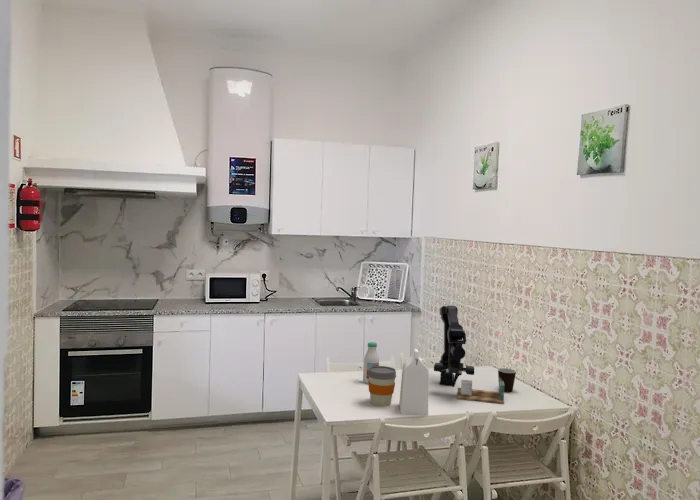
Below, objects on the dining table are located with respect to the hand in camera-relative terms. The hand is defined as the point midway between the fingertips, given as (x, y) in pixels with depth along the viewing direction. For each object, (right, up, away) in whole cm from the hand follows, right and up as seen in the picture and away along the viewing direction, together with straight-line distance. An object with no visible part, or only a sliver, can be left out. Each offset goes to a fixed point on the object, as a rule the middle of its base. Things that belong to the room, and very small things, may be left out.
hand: (453, 386), depth 268 cm
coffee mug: (+28, -5, +12) cm, 31 cm away
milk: (-22, -5, -23) cm, 32 cm away
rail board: (+12, -5, -3) cm, 13 cm away
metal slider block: (+6, -3, -1) cm, 7 cm away
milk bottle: (-39, -2, +15) cm, 42 cm away
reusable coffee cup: (-35, -4, -16) cm, 39 cm away
